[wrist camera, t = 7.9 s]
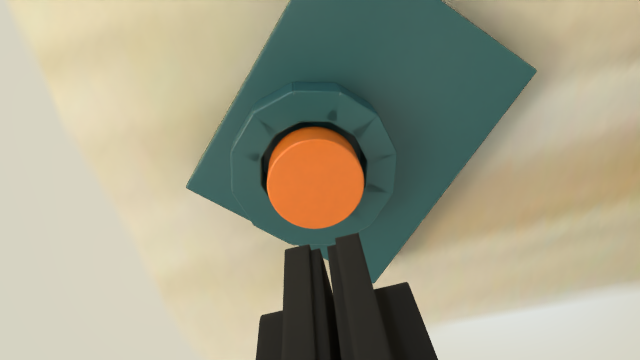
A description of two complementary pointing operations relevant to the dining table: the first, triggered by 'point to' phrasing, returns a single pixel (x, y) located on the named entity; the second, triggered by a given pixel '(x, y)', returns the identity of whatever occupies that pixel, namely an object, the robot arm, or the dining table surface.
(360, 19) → the button base
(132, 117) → the dining table surface
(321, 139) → the orange button cap
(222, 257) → the dining table surface
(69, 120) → the dining table surface
